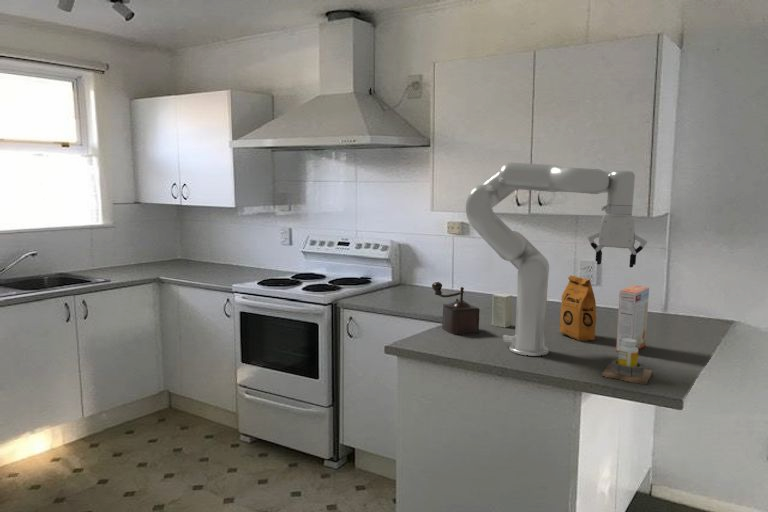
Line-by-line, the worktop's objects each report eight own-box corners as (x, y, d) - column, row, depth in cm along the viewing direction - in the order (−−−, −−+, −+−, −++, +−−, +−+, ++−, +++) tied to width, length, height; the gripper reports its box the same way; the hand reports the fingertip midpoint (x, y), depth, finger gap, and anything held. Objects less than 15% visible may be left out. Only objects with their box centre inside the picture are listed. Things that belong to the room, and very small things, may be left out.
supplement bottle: (617, 373, 180) (620, 341, 179) (616, 368, 185) (618, 336, 184) (637, 375, 178) (640, 343, 177) (635, 370, 183) (638, 338, 182)
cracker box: (628, 343, 218) (632, 284, 216) (645, 346, 215) (650, 287, 212) (614, 351, 208) (619, 289, 205) (632, 354, 204) (637, 292, 201)
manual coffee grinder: (464, 326, 237) (467, 279, 234) (479, 333, 226) (481, 285, 224) (428, 328, 231) (430, 281, 229) (441, 336, 221) (443, 286, 219)
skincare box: (510, 326, 239) (512, 295, 237) (504, 328, 236) (506, 296, 234) (497, 323, 243) (498, 292, 241) (490, 325, 240) (492, 294, 238)
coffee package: (575, 342, 217) (579, 280, 215) (555, 333, 229) (559, 275, 226) (599, 340, 220) (603, 280, 218) (578, 332, 232) (582, 274, 229)
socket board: (601, 376, 179) (602, 365, 179) (609, 366, 190) (610, 355, 189) (646, 384, 174) (647, 372, 173) (651, 373, 184) (652, 362, 183)
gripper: (587, 209, 193) (584, 264, 195) (647, 212, 184) (642, 269, 186) (593, 209, 199) (589, 261, 201) (650, 212, 191) (646, 266, 193)
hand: (615, 265), depth 194 cm, fingers open, 9 cm apart
